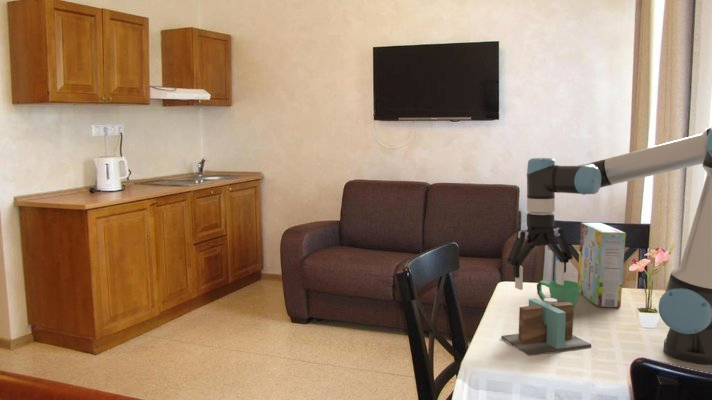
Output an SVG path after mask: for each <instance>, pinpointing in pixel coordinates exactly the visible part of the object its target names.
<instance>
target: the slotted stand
mask: <svg viewBox="0 0 712 400" xmlns="http://www.w3.org/2000/svg"><path fill="white" fill-rule="evenodd" d="M551 306H553V307H556V308H558V309H560V310H562V311H564V312H566V322H565V347H564V348H559V349H556V348H554V347H553V346H551V345H549V344H547V343H546V338H547V325H545V324H543V323H542V307H540V306H538V305H535V306H529V305H528V306H527V305H526V306H519V311H518V312H519V314H518V315H519V316H518V333H515V334H514V333H513V334H503V335H501V336H500V337H501V338H502V340H503V339H504V340H503V341H505V342H506V341H507V342H506V343H508V344H509V343H510V345H511V346H512V347H514V346H515V348H516V349H517V348H518V351H521V352H522V353H524V354H526V355H527V356H535V355H541V354H550V353H558V352H565V351H574V350H579V349H588V348H592V343H590V342H588V341H586V340H584V339H582V338H580V337H577V336H576V335H575V334H573V331H574V330H573V329H574V310H575V308H574V304H572V303H570V302H562V303H553V304H551ZM573 309H574V310H573ZM501 338H500V339H501Z"/></svg>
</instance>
